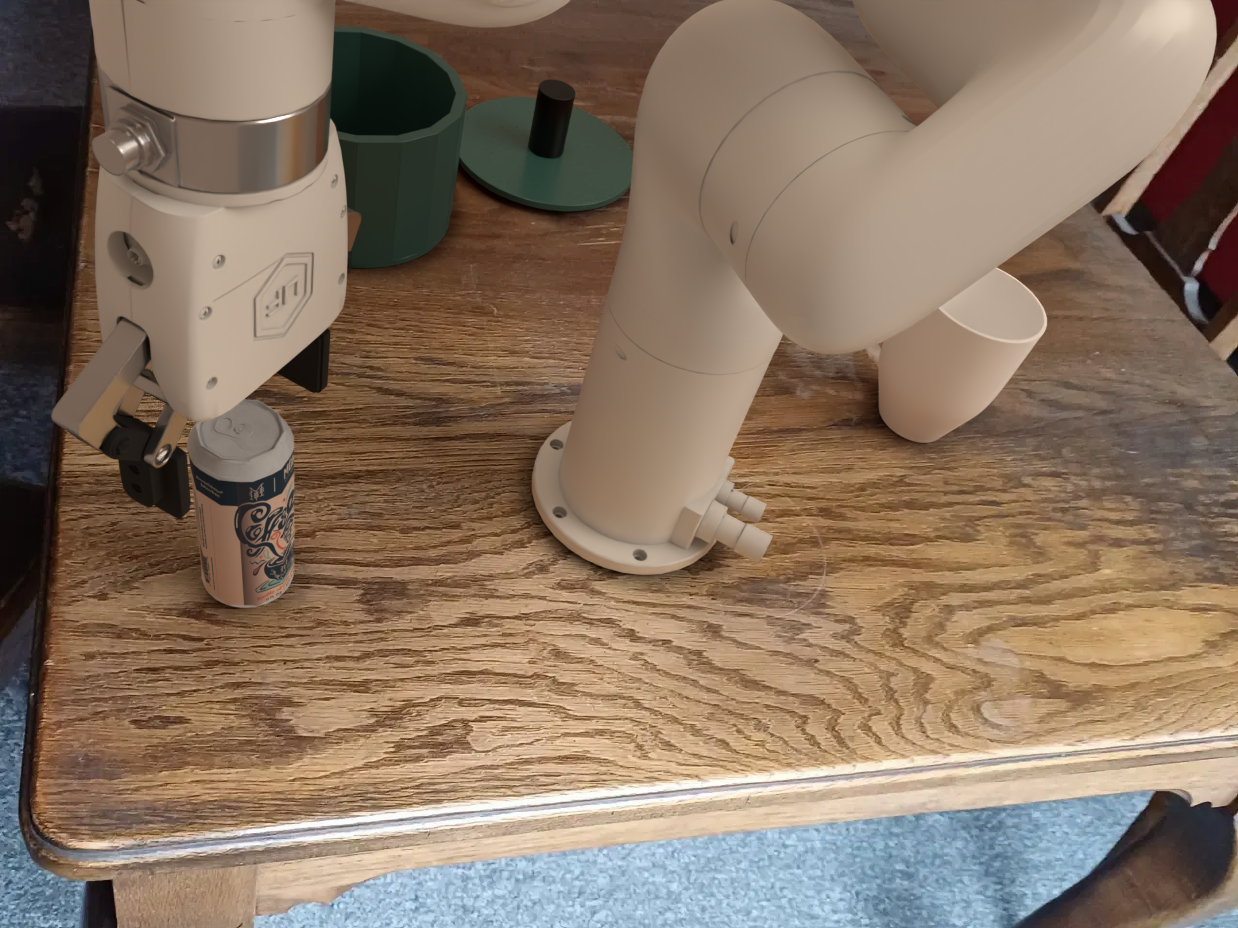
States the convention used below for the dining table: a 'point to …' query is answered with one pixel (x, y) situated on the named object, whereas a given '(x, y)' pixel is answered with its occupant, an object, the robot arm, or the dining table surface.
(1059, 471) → the dining table surface
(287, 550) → the beer can
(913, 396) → the mug
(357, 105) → the tin
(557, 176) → the tin lid
